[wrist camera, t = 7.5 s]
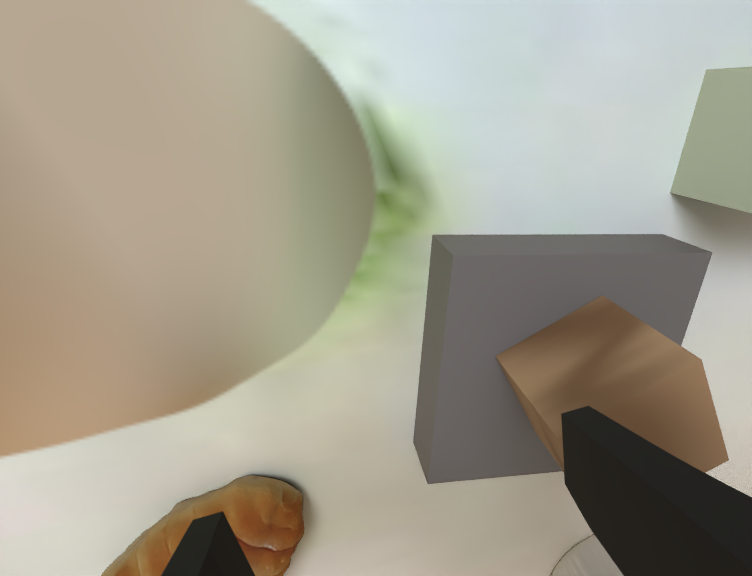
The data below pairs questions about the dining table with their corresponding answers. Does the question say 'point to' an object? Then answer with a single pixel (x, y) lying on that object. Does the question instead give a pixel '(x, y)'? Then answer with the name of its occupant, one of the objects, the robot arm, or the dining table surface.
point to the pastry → (246, 517)
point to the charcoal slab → (526, 332)
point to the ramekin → (587, 561)
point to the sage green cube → (719, 142)
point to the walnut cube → (616, 382)
